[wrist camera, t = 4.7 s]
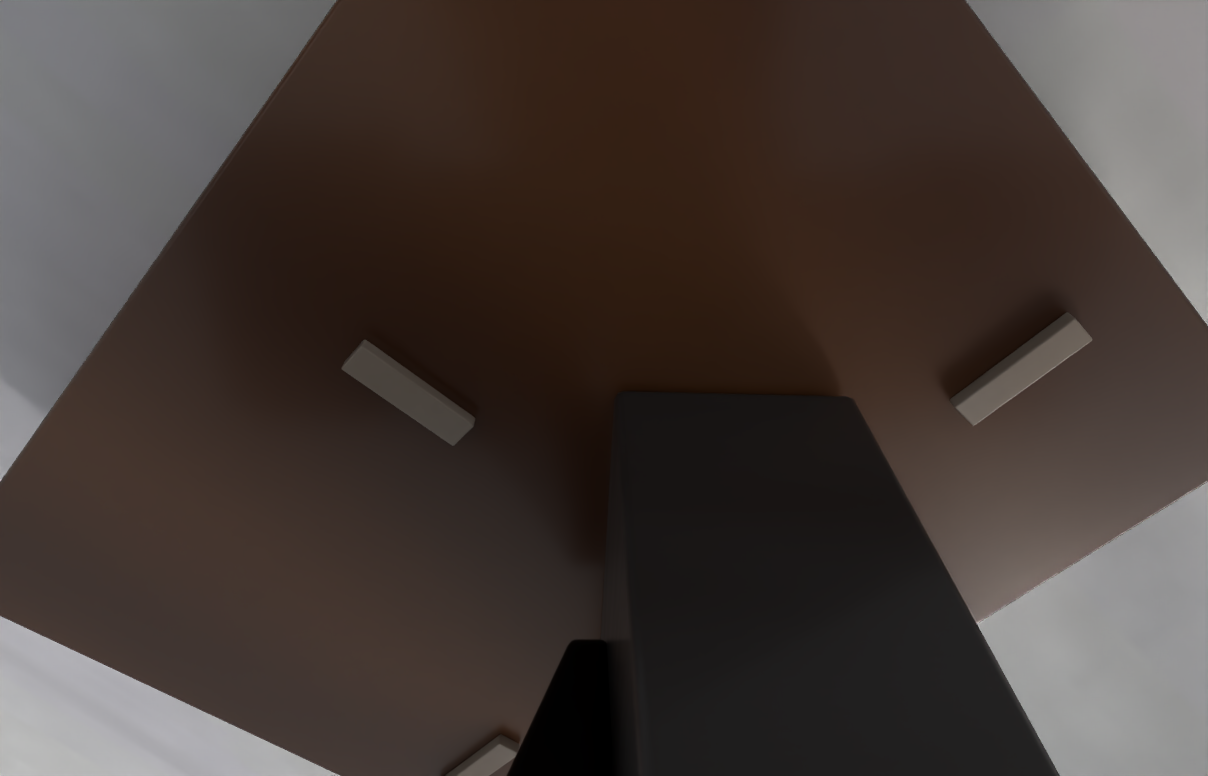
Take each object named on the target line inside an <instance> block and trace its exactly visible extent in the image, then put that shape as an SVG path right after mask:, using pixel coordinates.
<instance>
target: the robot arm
mask: <svg viewBox="0 0 1208 776" xmlns="http://www.w3.org/2000/svg"><path fill="white" fill-rule="evenodd" d="M611 747H612V737H611V715H610V695H609V676H608V657H607V643H606V642H605V641H604V640H601V639H575V640H572V641H571V642H570V643H569V644H568V646H567V648H566V650H565V652H564V654H563V656H562V658H561V660H560V663H559V665H558V667H557V669H556V671H555V673H554V675H553V677H552V680H551V682H550V684H549V686H548V688H547V690H546V692H545V695H544V697H543V699H542V701H541V703H540V705H539V707H538V709H537V712H536V714H535V716H534V718H533V720H532V722H531V724H530V727H529V729H528V731H527V733H526V735H525V737H524V739H523V741H522V744H521V746H520V748H519V750H518V752H517V754H516V756H515V759H514V761H513V763H512V765H511V767H510V769H509V771H508V774H507V776H610V763H611Z"/></svg>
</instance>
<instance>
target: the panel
mask: <svg viewBox="0 0 1208 776" xmlns="http://www.w3.org/2000/svg"><path fill="white" fill-rule="evenodd" d="M622 391H637V392H680V393H724V394H768V395H811V396H847V397H850V398H852V399H854V401H855V402H856V404H857V406H858V408H859V410H860V412H861V413H862V415H863V417H864V419H865V421H866V423H867V424H868V426H869V428H870V430H871V432H872V433H873V435H874V437H875V439H876V441H877V443H878V444H879V446H880V448H881V450H882V452H883V454H884V455H885V457H886V459H887V461H888V463H889V465H890V466H891V468H892V470H893V472H894V474H895V476H896V477H897V479H898V481H899V483H900V485H901V486H902V488H903V490H904V492H905V494H906V496H907V497H908V499H909V501H910V503H911V505H912V507H913V508H914V510H915V512H916V514H917V516H918V518H919V519H920V521H921V523H922V525H923V527H924V529H925V530H926V532H927V534H928V536H929V538H930V540H931V541H932V543H933V545H934V547H935V549H936V550H937V552H938V554H939V556H940V558H941V560H942V561H943V563H944V565H945V567H946V569H947V571H948V572H949V574H950V576H951V578H952V580H953V582H954V583H955V585H956V587H957V589H958V591H959V593H960V594H961V596H962V598H963V600H964V602H965V603H966V605H967V607H968V609H969V611H970V613H971V614H972V616H973V618H974V620H975V622H976V624H977V623H979V622H981V621H982V620H984V619H986V618H987V617H989V616H990V615H992V614H994V613H995V612H997V611H999V610H1000V609H1002V608H1003V607H1005V606H1007V605H1008V604H1010V603H1012V602H1013V601H1015V600H1016V599H1018V598H1020V597H1021V596H1023V595H1024V594H1026V593H1028V592H1029V591H1031V590H1033V589H1034V588H1036V587H1037V586H1039V585H1041V584H1042V583H1044V582H1046V581H1047V580H1049V579H1050V578H1052V577H1054V576H1055V575H1057V574H1059V573H1060V572H1062V571H1063V570H1065V569H1067V568H1068V567H1070V566H1072V565H1073V564H1075V563H1076V562H1078V561H1080V560H1081V559H1083V558H1085V557H1086V556H1088V555H1089V554H1091V553H1093V552H1094V551H1096V550H1098V549H1099V548H1101V547H1102V546H1104V545H1106V544H1107V543H1109V542H1111V541H1112V540H1114V539H1115V538H1117V537H1119V536H1120V535H1122V534H1124V533H1125V532H1127V531H1128V530H1130V529H1132V528H1133V527H1135V526H1137V525H1138V524H1140V523H1141V522H1143V521H1145V520H1146V519H1148V518H1150V517H1151V516H1153V515H1154V514H1156V513H1158V512H1159V511H1161V510H1163V509H1164V508H1166V507H1167V506H1169V505H1171V504H1172V503H1174V502H1176V501H1177V500H1179V499H1180V498H1182V497H1184V496H1185V495H1187V494H1188V493H1190V492H1192V491H1193V490H1195V489H1197V488H1198V487H1200V486H1201V485H1203V484H1205V483H1206V482H1208V326H1207V324H1206V323H1205V321H1204V320H1203V319H1202V317H1201V316H1200V315H1199V313H1198V312H1197V311H1196V309H1195V308H1194V307H1193V305H1192V304H1191V303H1190V301H1189V300H1188V299H1187V297H1186V296H1185V295H1184V293H1183V292H1182V291H1181V289H1180V288H1179V287H1178V285H1177V284H1176V283H1175V281H1174V280H1173V279H1172V277H1171V276H1170V274H1169V273H1168V272H1167V270H1166V269H1165V268H1164V266H1163V265H1162V264H1161V262H1160V261H1159V260H1158V258H1157V257H1156V256H1155V254H1154V253H1153V252H1152V250H1151V249H1150V248H1149V246H1148V245H1147V244H1146V242H1145V241H1144V240H1143V238H1142V237H1141V236H1140V234H1139V233H1138V232H1137V230H1136V229H1135V228H1134V226H1133V225H1132V223H1131V222H1130V221H1129V219H1128V218H1127V217H1126V215H1125V214H1124V213H1123V211H1122V210H1121V209H1120V207H1119V206H1118V205H1117V203H1116V202H1115V201H1114V199H1113V198H1112V197H1111V195H1110V194H1109V193H1108V191H1107V190H1106V189H1105V187H1104V186H1103V185H1102V183H1101V182H1100V181H1099V179H1098V178H1097V176H1096V175H1095V174H1094V172H1093V171H1092V170H1091V168H1090V167H1089V166H1088V164H1087V163H1086V162H1085V160H1084V159H1083V158H1082V156H1081V155H1080V154H1079V152H1078V151H1077V150H1076V148H1075V147H1074V146H1073V144H1072V143H1071V142H1070V140H1069V139H1068V138H1067V136H1066V135H1065V134H1064V132H1063V131H1062V129H1061V128H1060V127H1059V125H1058V124H1057V123H1056V121H1055V120H1054V119H1053V117H1052V116H1051V115H1050V113H1049V112H1048V111H1047V109H1046V108H1045V107H1044V105H1043V104H1042V103H1041V101H1040V100H1039V99H1038V97H1037V96H1036V95H1035V93H1034V92H1033V91H1032V89H1031V88H1030V87H1029V85H1028V84H1027V82H1026V81H1025V80H1024V78H1023V77H1022V76H1021V74H1020V73H1019V72H1018V70H1017V69H1016V68H1015V66H1014V65H1013V64H1012V62H1011V61H1010V60H1009V58H1008V57H1007V56H1006V54H1005V53H1004V52H1003V50H1002V49H1001V48H1000V46H999V45H998V44H997V42H996V41H995V40H994V38H993V37H992V36H991V34H990V33H989V31H988V30H987V29H986V27H985V26H984V25H983V23H982V22H981V21H980V19H979V18H978V17H977V15H976V14H975V13H974V11H973V10H972V9H971V7H970V6H969V5H968V3H967V2H966V1H965V0H337V1H336V2H335V3H334V5H333V6H332V8H331V9H330V11H329V12H328V14H327V15H326V16H325V18H324V19H323V21H322V22H321V24H320V25H319V26H318V28H317V29H316V31H315V32H314V34H313V35H312V36H311V38H310V39H309V41H308V42H307V44H306V45H305V46H304V48H303V49H302V51H301V52H300V54H299V55H298V56H297V58H296V59H295V61H294V62H293V64H292V65H291V66H290V68H289V69H288V71H287V72H286V74H285V75H284V76H283V78H282V79H281V81H280V82H279V84H278V85H277V86H276V88H275V89H274V91H273V92H272V94H271V95H270V96H269V98H268V99H267V101H266V102H265V104H264V105H263V106H262V108H261V109H260V111H259V112H258V114H257V115H256V117H255V118H254V119H253V121H252V122H251V124H250V125H249V127H248V128H247V129H246V131H245V132H244V134H243V135H242V137H241V138H240V139H239V141H238V142H237V144H236V145H235V147H234V148H233V149H232V151H231V152H230V154H229V155H228V157H227V158H226V159H225V161H224V162H223V164H222V165H221V167H220V168H219V169H218V171H217V172H216V174H215V175H214V177H213V178H212V179H211V181H210V182H209V184H208V185H207V187H206V188H205V189H204V191H203V192H202V194H201V195H200V197H199V198H198V199H197V201H196V202H195V204H194V205H193V207H192V208H191V210H190V211H189V212H188V214H187V215H186V217H185V218H184V220H183V221H182V222H181V224H180V225H179V227H178V228H177V230H176V231H175V232H174V234H173V235H172V237H171V238H170V240H169V241H168V242H167V244H166V245H165V247H164V248H163V250H162V251H161V252H160V254H159V255H158V257H157V258H156V260H155V261H154V262H153V264H152V265H151V267H150V268H149V270H148V271H147V272H146V274H145V275H144V277H143V278H142V280H141V281H140V282H139V284H138V285H137V287H136V288H135V290H134V291H133V292H132V294H131V295H130V297H129V298H128V300H127V301H126V303H125V304H124V305H123V307H122V308H121V310H120V311H119V313H118V314H117V315H116V317H115V318H114V320H113V321H112V323H111V324H110V325H109V327H108V328H107V330H106V331H105V333H104V334H103V335H102V337H101V338H100V340H99V341H98V343H97V344H96V345H95V347H94V348H93V350H92V351H91V353H90V354H89V355H88V357H87V358H86V360H85V361H84V363H83V364H82V365H81V367H80V368H79V370H78V371H77V373H76V374H75V375H74V377H73V378H72V380H71V381H70V383H69V384H68V385H67V387H66V388H65V390H64V391H63V393H62V394H61V395H60V397H59V398H58V400H57V401H56V403H55V404H54V406H53V407H52V408H51V410H50V411H49V413H48V414H47V416H46V417H45V418H44V420H43V421H42V423H41V424H40V426H39V427H38V428H37V430H36V431H35V433H34V434H33V436H32V437H31V438H30V440H29V441H28V443H27V444H26V446H25V447H24V448H23V450H22V451H21V453H20V454H19V456H18V457H17V458H16V460H15V461H14V463H13V464H12V466H11V467H10V468H9V470H8V471H7V473H6V474H5V476H4V477H3V478H2V480H1V481H0V616H2V617H4V618H6V619H8V620H10V621H12V622H14V623H17V624H19V625H21V626H23V627H25V628H27V629H29V630H32V631H34V632H36V633H38V634H40V635H42V636H44V637H46V638H49V639H51V640H53V641H55V642H57V643H59V644H61V645H63V646H66V647H68V648H70V649H72V650H74V651H76V652H78V653H80V654H83V655H85V656H87V657H89V658H91V659H93V660H95V661H98V662H100V663H102V664H104V665H106V666H108V667H110V668H112V669H115V670H117V671H119V672H121V673H123V674H125V675H127V676H129V677H132V678H134V679H136V680H138V681H140V682H142V683H144V684H146V685H149V686H151V687H153V688H155V689H157V690H159V691H161V692H163V693H166V694H168V695H170V696H172V697H174V698H176V699H178V700H181V701H183V702H185V703H187V704H189V705H191V706H193V707H195V708H198V709H200V710H202V711H204V712H206V713H208V714H210V715H212V716H215V717H217V718H219V719H221V720H223V721H225V722H227V723H229V724H232V725H234V726H236V727H238V728H240V729H242V730H244V731H247V732H249V733H251V734H253V735H255V736H257V737H259V738H261V739H264V740H266V741H268V742H270V743H272V744H274V745H276V746H278V747H281V748H283V749H285V750H287V751H289V752H291V753H293V754H295V755H298V756H300V757H302V758H304V759H306V760H308V761H310V762H312V763H315V764H317V765H319V766H321V767H323V768H325V769H327V770H330V771H332V772H334V773H336V774H338V775H340V776H507V774H508V771H509V769H510V767H511V765H512V763H513V761H514V759H515V756H516V754H517V752H518V750H519V748H520V746H521V744H522V741H523V739H524V737H525V735H526V733H527V731H528V729H529V727H530V724H531V722H532V720H533V718H534V716H535V714H536V712H537V709H538V707H539V705H540V703H541V701H542V699H543V697H544V695H545V692H546V690H547V688H548V686H549V684H550V682H551V680H552V677H553V675H554V673H555V671H556V669H557V667H558V665H559V663H560V660H561V658H562V656H563V654H564V652H565V650H566V648H567V646H568V644H569V643H570V642H571V641H572V640H575V639H601V626H602V608H603V590H604V572H605V555H606V537H607V519H608V502H609V484H610V466H611V448H612V431H613V413H614V399H615V398H616V396H617V394H618V393H619V392H622Z"/></svg>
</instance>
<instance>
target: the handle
mask: <svg viewBox="0 0 1208 776" xmlns="http://www.w3.org/2000/svg"><path fill="white" fill-rule="evenodd" d="M601 640H604V641H605V642H606V643H607V657H608V676H609V695H610V715H611V737H612V747H611V763H610V776H1060V775H1059V773H1058V772H1057V770H1056V768H1055V766H1054V764H1053V763H1052V761H1051V759H1050V757H1049V755H1048V753H1047V752H1046V750H1045V748H1044V746H1043V744H1042V742H1041V741H1040V739H1039V737H1038V735H1037V733H1036V731H1035V730H1034V728H1033V726H1032V724H1031V722H1030V720H1029V719H1028V717H1027V715H1026V713H1025V711H1024V709H1023V708H1022V706H1021V704H1020V702H1019V700H1018V699H1017V697H1016V695H1015V693H1014V691H1013V689H1012V688H1011V686H1010V684H1009V682H1008V680H1007V678H1006V677H1005V675H1004V673H1003V671H1002V669H1001V667H1000V666H999V664H998V662H997V660H996V658H995V656H994V655H993V653H992V651H991V649H990V647H989V646H988V644H987V642H986V640H985V638H984V636H983V635H982V633H981V631H980V629H979V627H978V625H977V624H976V622H975V620H974V618H973V616H972V614H971V613H970V611H969V609H968V607H967V605H966V603H965V602H964V600H963V598H962V596H961V594H960V593H959V591H958V589H957V587H956V585H955V583H954V582H953V580H952V578H951V576H950V574H949V572H948V571H947V569H946V567H945V565H944V563H943V561H942V560H941V558H940V556H939V554H938V552H937V550H936V549H935V547H934V545H933V543H932V541H931V540H930V538H929V536H928V534H927V532H926V530H925V529H924V527H923V525H922V523H921V521H920V519H919V518H918V516H917V514H916V512H915V510H914V508H913V507H912V505H911V503H910V501H909V499H908V497H907V496H906V494H905V492H904V490H903V488H902V486H901V485H900V483H899V481H898V479H897V477H896V476H895V474H894V472H893V470H892V468H891V466H890V465H889V463H888V461H887V459H886V457H885V455H884V454H883V452H882V450H881V448H880V446H879V444H878V443H877V441H876V439H875V437H874V435H873V433H872V432H871V430H870V428H869V426H868V424H867V423H866V421H865V419H864V417H863V415H862V413H861V412H860V410H859V408H858V406H857V404H856V402H855V401H854V399H852V398H850V397H847V396H811V395H768V394H724V393H680V392H637V391H622V392H619V393H618V394H617V396H616V398H615V399H614V413H613V431H612V448H611V466H610V484H609V502H608V519H607V537H606V555H605V572H604V590H603V608H602V626H601Z"/></svg>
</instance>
